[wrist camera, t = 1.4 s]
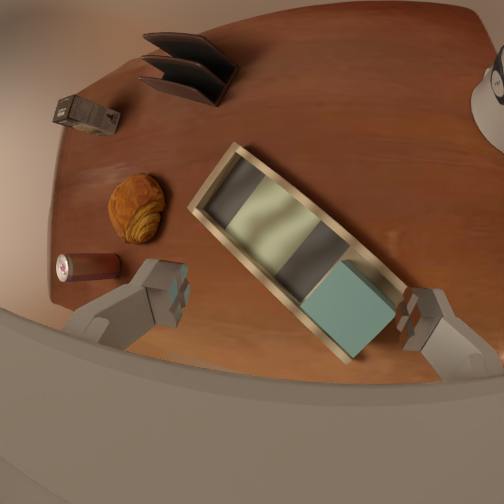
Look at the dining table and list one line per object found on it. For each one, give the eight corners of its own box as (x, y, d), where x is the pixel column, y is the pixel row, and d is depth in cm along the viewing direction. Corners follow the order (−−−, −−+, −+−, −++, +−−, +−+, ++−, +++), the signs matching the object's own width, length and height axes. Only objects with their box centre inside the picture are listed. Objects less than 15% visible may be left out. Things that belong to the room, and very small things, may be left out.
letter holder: (178, 57, 59) (139, 30, 46) (240, 68, 52) (202, 30, 39) (158, 91, 61) (116, 68, 48) (217, 108, 54) (173, 77, 41)
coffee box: (96, 136, 71) (50, 122, 56) (103, 115, 70) (58, 99, 55) (115, 134, 67) (66, 118, 52) (121, 112, 66) (74, 93, 52)
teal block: (394, 304, 40) (396, 314, 33) (358, 341, 42) (353, 357, 35) (347, 259, 43) (340, 260, 36) (312, 298, 45) (299, 306, 39)
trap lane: (413, 292, 39) (415, 294, 36) (349, 358, 43) (346, 365, 40) (242, 147, 51) (234, 141, 48) (196, 209, 55) (186, 207, 52)
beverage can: (117, 283, 65) (65, 288, 52) (104, 270, 67) (54, 272, 54) (124, 261, 64) (70, 262, 50) (111, 248, 66) (59, 248, 53)
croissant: (145, 254, 64) (120, 259, 57) (114, 202, 66) (89, 203, 58) (185, 212, 59) (160, 213, 51) (148, 158, 61) (123, 154, 53)
